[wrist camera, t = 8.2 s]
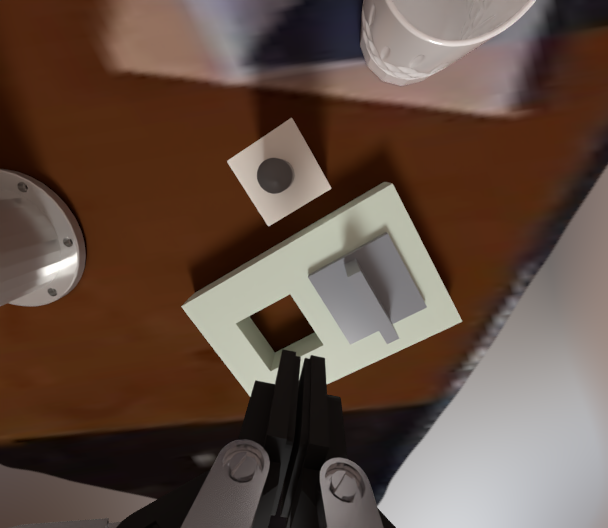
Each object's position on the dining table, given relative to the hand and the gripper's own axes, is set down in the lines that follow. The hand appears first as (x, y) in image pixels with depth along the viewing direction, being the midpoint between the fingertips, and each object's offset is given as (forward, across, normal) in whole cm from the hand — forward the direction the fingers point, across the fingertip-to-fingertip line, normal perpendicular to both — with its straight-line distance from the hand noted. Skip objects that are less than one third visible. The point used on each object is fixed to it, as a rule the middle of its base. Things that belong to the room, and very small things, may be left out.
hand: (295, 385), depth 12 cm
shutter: (+14, -5, +1) cm, 15 cm away
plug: (+17, +3, -7) cm, 19 cm away
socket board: (+17, -2, +4) cm, 17 cm away
